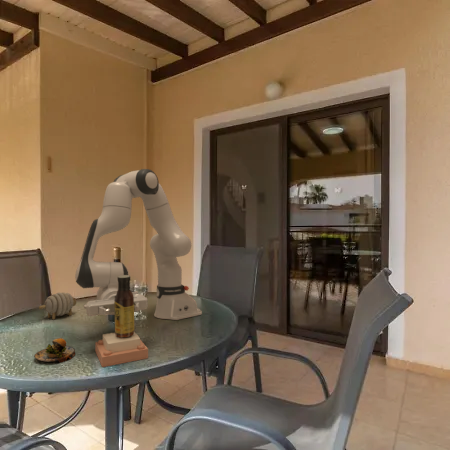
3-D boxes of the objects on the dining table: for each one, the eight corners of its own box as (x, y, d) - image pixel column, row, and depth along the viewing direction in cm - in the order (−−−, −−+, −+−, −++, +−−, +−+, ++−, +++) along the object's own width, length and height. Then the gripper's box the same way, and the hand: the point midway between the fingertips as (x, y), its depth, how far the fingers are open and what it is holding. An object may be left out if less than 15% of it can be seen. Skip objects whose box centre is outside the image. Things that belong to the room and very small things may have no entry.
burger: (32, 355, 107) (32, 333, 107) (71, 348, 114) (71, 326, 114) (36, 369, 97) (36, 344, 97) (78, 360, 104) (78, 336, 104)
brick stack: (136, 344, 117) (137, 327, 117) (148, 358, 105) (148, 339, 105) (95, 351, 111) (95, 333, 111) (102, 367, 98) (102, 347, 98)
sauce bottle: (114, 333, 110) (112, 275, 110) (133, 330, 113) (132, 273, 112) (115, 340, 104) (114, 278, 104) (135, 337, 107) (134, 276, 106)
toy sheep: (82, 314, 155) (82, 291, 155) (47, 323, 140) (47, 297, 140) (68, 311, 160) (68, 288, 160) (33, 319, 146) (33, 294, 146)
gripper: (83, 296, 114) (88, 304, 102) (141, 290, 124) (152, 298, 112) (82, 314, 114) (87, 325, 102) (141, 307, 124) (152, 316, 112)
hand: (122, 310), depth 107 cm, fingers open, 8 cm apart
